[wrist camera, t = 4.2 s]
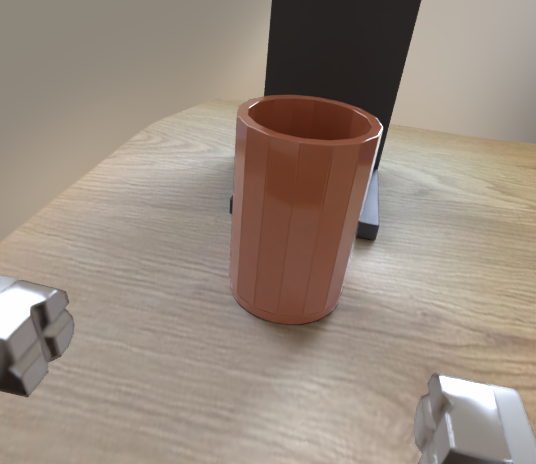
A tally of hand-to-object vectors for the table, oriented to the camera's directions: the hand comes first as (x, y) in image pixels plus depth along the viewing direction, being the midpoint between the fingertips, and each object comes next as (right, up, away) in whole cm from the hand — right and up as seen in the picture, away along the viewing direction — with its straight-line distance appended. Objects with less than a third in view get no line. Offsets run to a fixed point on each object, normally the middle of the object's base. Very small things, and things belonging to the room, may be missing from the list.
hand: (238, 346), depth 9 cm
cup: (+2, 0, +14) cm, 14 cm away
